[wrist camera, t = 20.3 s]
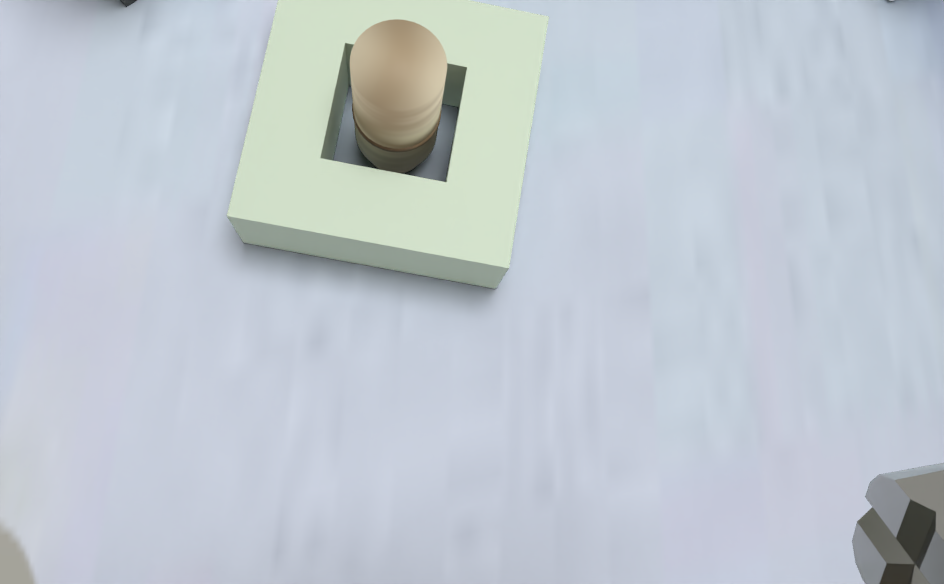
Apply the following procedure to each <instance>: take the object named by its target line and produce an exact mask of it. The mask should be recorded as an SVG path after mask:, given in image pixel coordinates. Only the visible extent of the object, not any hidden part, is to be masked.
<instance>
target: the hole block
mask: <svg viewBox="0 0 944 584" xmlns="http://www.w3.org/2000/svg"><path fill="white" fill-rule="evenodd" d="M394 19H401V20H408V21H412V22H415V23H417V24H420V25H421V26H423V27H425V28H427V29H428V30H429V31H431V32H432V33H433V34H434V35H435V36H436V37H437V39H438V40H439V41H440V43H441V45H442V47H443V49H444V51H445V54H446V58H447V74H446V80H445V86H444V92H443V99H442V104H445V105H451V106H456V107H459V109H458V115H457V120H456V126H455V131H454V137H453V142H452V148H451V153H450V159H449V165H448V170H447V176H446V181H445V182H442V181H437V180H432V179H427V178H421V177H416V176H411V175H406V174H401V173H395V172H390V171H385V170H380V169H374V168H369V167H364V166H359V165H353V164H348V163H343V162H338V161H333V158H334V153H335V149H336V144H337V139H338V135H339V130H340V125H341V120H342V116H343V111H344V106H345V102H346V97H347V92H348V87H349V86H351V74H350V55H351V51H352V48H353V46H354V44H355V42H356V40H357V39H358V37H359V36H360V35H361V34H362V33H363V32H364V31H365V30H366V29H368V28H369V27H371V26H373V25H375V24H377V23H379V22H382V21H386V20H394ZM548 19H549V17H548V16H543V15H538V14H533V13H529V12H524V11H519V10H514V9H509V8H504V7H499V6H494V5H490V4H485V3H480V2H475V1H470V0H278V3H277V7H276V11H275V16H274V20H273V24H272V28H271V32H270V37H269V41H268V45H267V49H266V53H265V58H264V62H263V66H262V70H261V74H260V79H259V83H258V87H257V91H256V96H255V100H254V104H253V108H252V112H251V117H250V121H249V125H248V129H247V133H246V138H245V142H244V146H243V150H242V154H241V159H240V163H239V167H238V171H237V175H236V180H235V184H234V188H233V192H232V196H231V201H230V205H229V209H228V213H227V217H228V219H229V220H230V222H231V223H232V225H233V227H234V228H235V230H236V232H237V233H238V235H239V236H240V238H241V240H242V241H243V243H248V244H253V245H259V246H264V247H270V248H275V249H281V250H286V251H291V252H297V253H302V254H308V255H313V256H319V257H324V258H330V259H335V260H341V261H346V262H351V263H357V264H362V265H368V266H373V267H379V268H384V269H390V270H395V271H401V272H406V273H411V274H417V275H422V276H428V277H433V278H439V279H444V280H450V281H455V282H461V283H466V284H471V285H477V286H482V287H488V288H493V289H496V288H497V286H498V285H499V283H500V282H501V280H502V278H503V277H504V275H505V274H506V272H507V270H508V269H509V264H510V258H511V252H512V245H513V239H514V233H515V227H516V220H517V214H518V208H519V201H520V195H521V189H522V183H523V176H524V170H525V164H526V157H527V151H528V145H529V139H530V132H531V126H532V120H533V113H534V107H535V101H536V94H537V88H538V82H539V76H540V69H541V63H542V57H543V50H544V44H545V38H546V32H547V25H548Z"/></svg>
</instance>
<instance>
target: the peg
mask: <svg viewBox="0 0 944 584" xmlns="http://www.w3.org/2000/svg"><path fill="white" fill-rule="evenodd" d="M350 74H351V87H352V99H353V104H352V111H353V119H354V123H355V135H356V140H357V144H358V146H359V148H360V150H361V152H362V153H363V154H364V156H365V157H366V158H367V159H368V160H369V161H371V162H372V164H373V165H374V166H375V167H377V168H378V169H380V170H385V171H390V172H395V173H401V174H402V173H406V172H409V171H411V170H412V169H414V168H415V167H416V166H417V165H419V164H420V163H421V162H423V161H424V160H425V159H426V158H427V157H428V156H429V154H430V153H431V151H432V150H433V147H434V145H435V141H436V136H437V130H438V125H439V122H440V117H441V105H442V99H443V92H444V86H445V80H446V74H447V58H446V54H445V51H444V49H443V47H442V45H441V43H440V41H439V40H438V39H437V37H436V36H435V35H434V34H433V33H432V32H431V31H429V30H428V29H427V28H425V27H423V26H421V25H420V24H417V23H415V22H412V21H408V20H401V19H394V20H386V21H382V22H379V23H377V24H375V25H373V26H371V27H369V28H368V29H366V30H365V31H364V32H363V33H362V34H361V35H360V36H359V37H358V39H357V40H356V42H355V44H354V46H353V48H352V51H351V55H350Z"/></svg>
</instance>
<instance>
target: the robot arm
mask: <svg viewBox="0 0 944 584" xmlns="http://www.w3.org/2000/svg"><path fill="white" fill-rule="evenodd" d="M865 497H866V499H867V500H868V501H869V503H870V504H871V506H872V508H871V509H870V510H869V511H868V512H867V513H866V514H865V515H864V516H863V517H862V518H861V519H860V520H858V521H857V524H856V528H855V532H854V536H853V540H852V543H853V550H854V556H855V563H856V565H857V567H858V570H859V572H860V574H861V577H862V579H863V581H864V582H865V584H944V463H939V464H934V465H928V466H923V467H918V468H912V469H907V470H901V471H896V472H890V473H885V474H880V475H878V476H877V477H876V478H874V479H873V480H872V481H871V482H870V484H869V487H868V490H867V493H866V496H865Z"/></svg>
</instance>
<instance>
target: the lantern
mask: <svg viewBox="0 0 944 584" xmlns="http://www.w3.org/2000/svg"><path fill="white" fill-rule="evenodd" d="M135 1H137V0H121V2H122V3H123V4H124V5H125V6H126V7H127V6H129V5H130V4H132V3H134V2H135Z"/></svg>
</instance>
